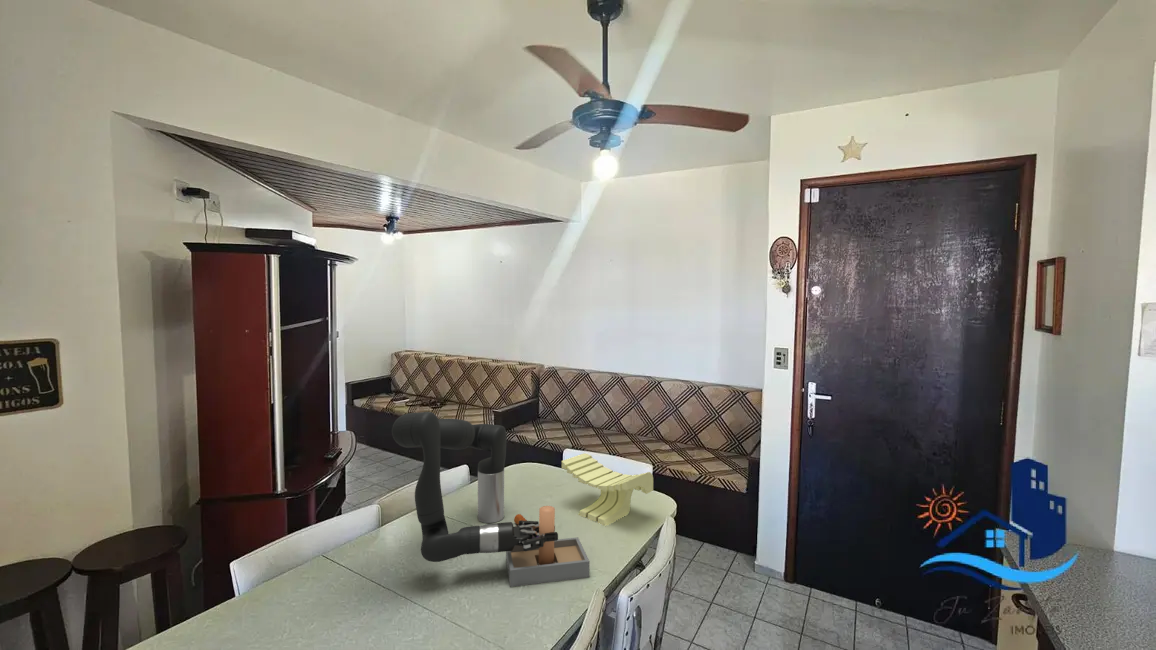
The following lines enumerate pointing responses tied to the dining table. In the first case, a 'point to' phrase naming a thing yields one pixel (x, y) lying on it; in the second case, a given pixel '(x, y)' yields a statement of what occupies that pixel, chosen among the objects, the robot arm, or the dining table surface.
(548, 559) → the peg
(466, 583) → the dining table surface
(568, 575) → the peg box
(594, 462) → the slatted curved stool
